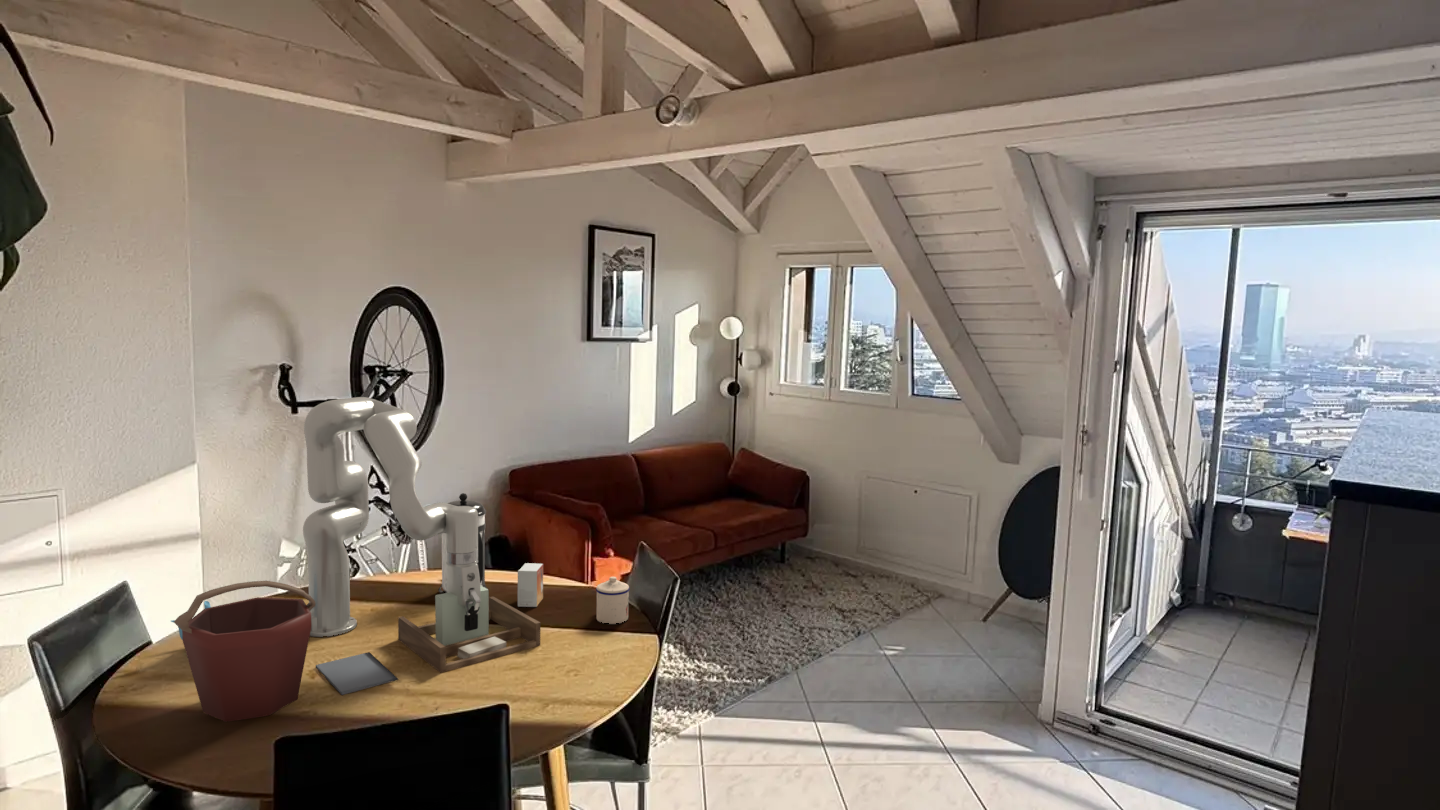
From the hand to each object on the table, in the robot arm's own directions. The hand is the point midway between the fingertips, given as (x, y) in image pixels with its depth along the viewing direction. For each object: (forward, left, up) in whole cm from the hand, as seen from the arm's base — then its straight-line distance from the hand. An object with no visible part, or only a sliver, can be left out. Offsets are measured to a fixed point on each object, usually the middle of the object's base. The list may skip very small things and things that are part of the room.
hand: (462, 624), depth 199 cm
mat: (-23, -2, -5) cm, 24 cm away
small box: (+28, +16, -5) cm, 33 cm away
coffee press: (+17, +34, -5) cm, 38 cm away
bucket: (-47, -2, -5) cm, 47 cm away
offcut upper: (0, -12, -4) cm, 12 cm away
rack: (0, -4, -5) cm, 6 cm away
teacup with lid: (+39, -8, -5) cm, 40 cm away
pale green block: (0, 0, -5) cm, 5 cm away
